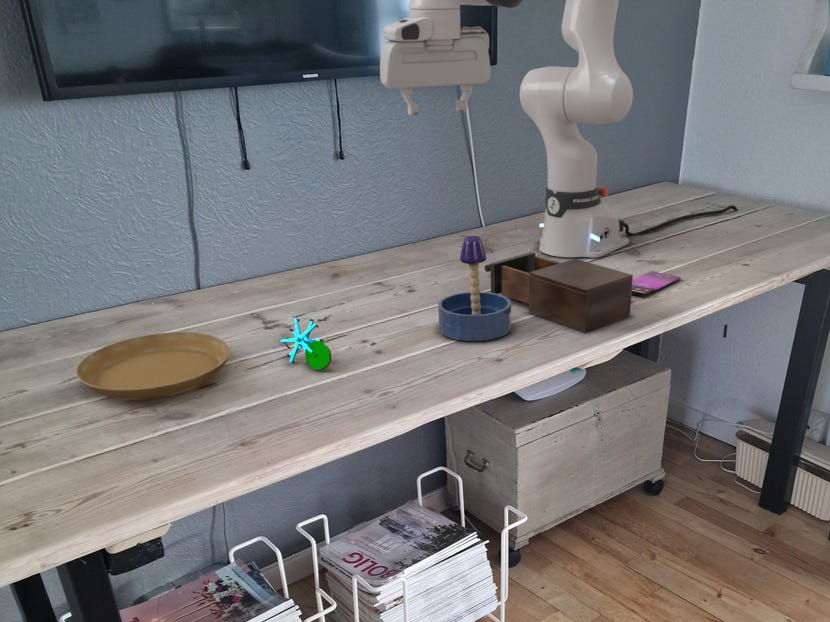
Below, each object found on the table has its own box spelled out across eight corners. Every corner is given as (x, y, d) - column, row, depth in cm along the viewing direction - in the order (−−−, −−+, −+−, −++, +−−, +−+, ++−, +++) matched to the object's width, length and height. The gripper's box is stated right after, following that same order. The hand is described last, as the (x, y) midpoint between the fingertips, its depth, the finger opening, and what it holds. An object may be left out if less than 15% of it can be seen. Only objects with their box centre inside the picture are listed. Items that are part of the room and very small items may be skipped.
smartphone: (613, 291, 179) (613, 286, 179) (651, 273, 189) (651, 269, 189) (644, 298, 175) (644, 293, 175) (681, 279, 185) (681, 275, 185)
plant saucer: (53, 407, 136) (47, 388, 134) (116, 348, 157) (112, 331, 155) (206, 408, 135) (202, 389, 133) (249, 349, 155) (246, 331, 154)
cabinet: (528, 313, 169) (529, 272, 165) (573, 298, 176) (575, 258, 172) (584, 333, 160) (586, 289, 156) (629, 316, 167) (633, 274, 163)
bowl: (478, 312, 170) (477, 287, 168) (525, 329, 162) (525, 303, 159) (424, 329, 163) (423, 303, 160) (471, 348, 154) (470, 321, 152)
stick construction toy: (270, 345, 151) (294, 307, 149) (297, 355, 157) (320, 319, 155) (310, 382, 145) (335, 343, 144) (337, 391, 151) (361, 354, 150)
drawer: (476, 289, 179) (476, 258, 176) (516, 277, 186) (517, 247, 183) (537, 310, 168) (538, 278, 165) (578, 296, 174) (579, 265, 171)
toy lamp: (467, 333, 159) (465, 242, 151) (458, 325, 163) (455, 235, 155) (492, 329, 161) (491, 238, 152) (481, 321, 165) (480, 232, 156)
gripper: (481, 25, 159) (481, 107, 166) (374, 28, 151) (379, 114, 158) (496, 26, 154) (496, 111, 161) (386, 30, 146) (391, 118, 153)
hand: (437, 113), depth 159 cm, fingers open, 8 cm apart
